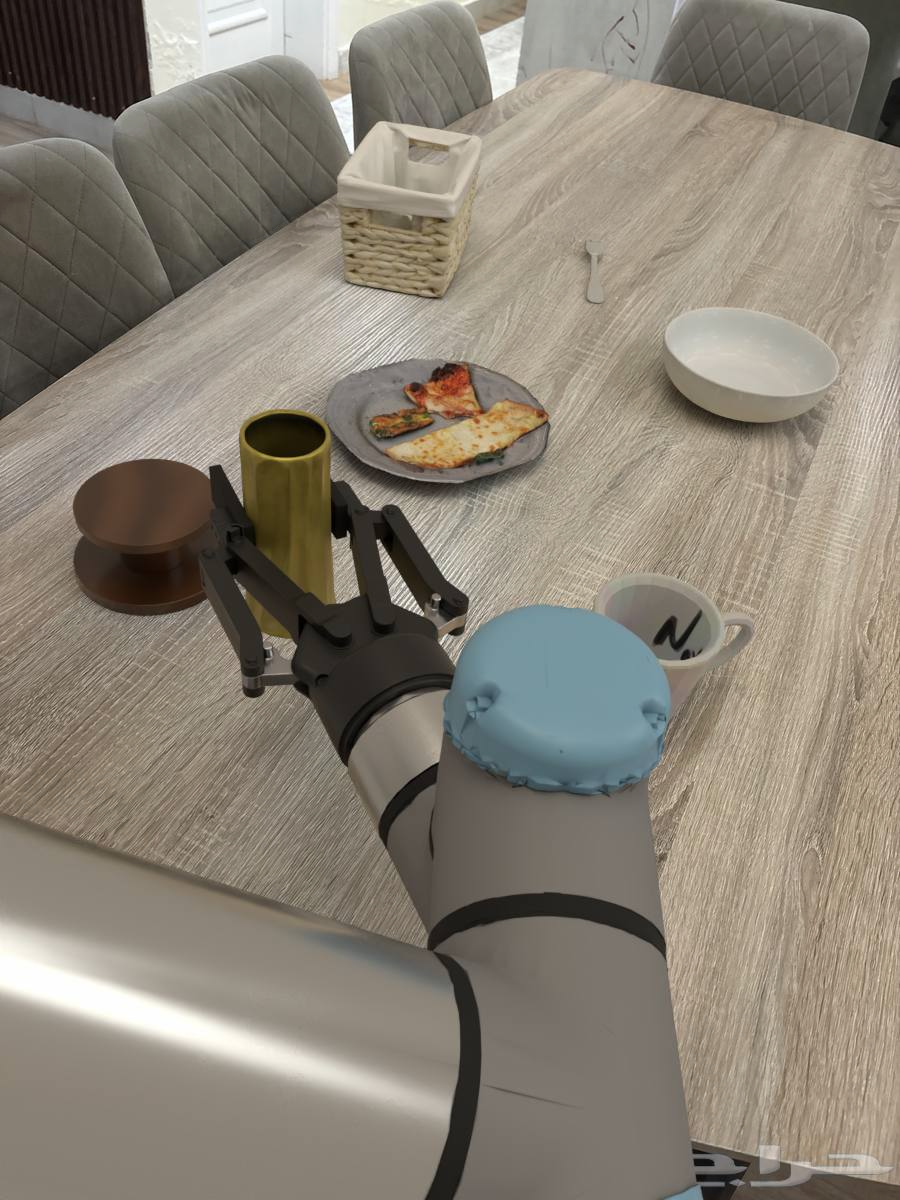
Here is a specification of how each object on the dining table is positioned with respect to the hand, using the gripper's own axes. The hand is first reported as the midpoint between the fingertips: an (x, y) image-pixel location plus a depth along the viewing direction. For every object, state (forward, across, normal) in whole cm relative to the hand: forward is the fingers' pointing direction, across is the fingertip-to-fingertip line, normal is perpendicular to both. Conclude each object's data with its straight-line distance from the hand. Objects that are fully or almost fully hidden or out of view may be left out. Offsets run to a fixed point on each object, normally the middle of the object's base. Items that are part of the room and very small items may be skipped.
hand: (261, 473), depth 62 cm
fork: (+58, +70, -22) cm, 94 cm away
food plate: (+29, +29, -22) cm, 47 cm away
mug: (-13, +30, -22) cm, 39 cm away
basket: (+69, +44, -22) cm, 85 cm away
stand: (+18, -5, -22) cm, 29 cm away
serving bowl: (+23, +68, -22) cm, 75 cm away
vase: (-5, 0, -8) cm, 9 cm away
